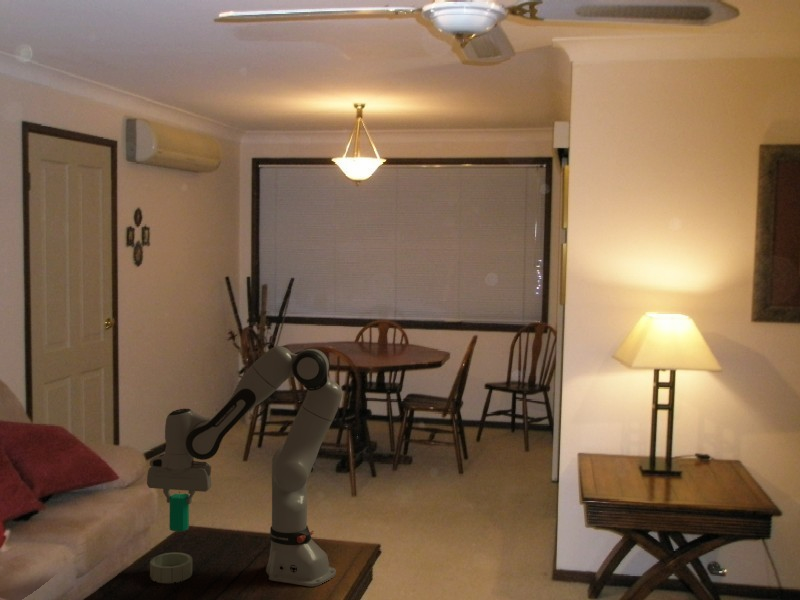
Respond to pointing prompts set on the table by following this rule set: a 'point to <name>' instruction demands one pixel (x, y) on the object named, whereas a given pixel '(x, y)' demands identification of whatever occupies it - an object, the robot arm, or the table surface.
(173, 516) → the candle
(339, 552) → the table surface
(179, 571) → the dish
